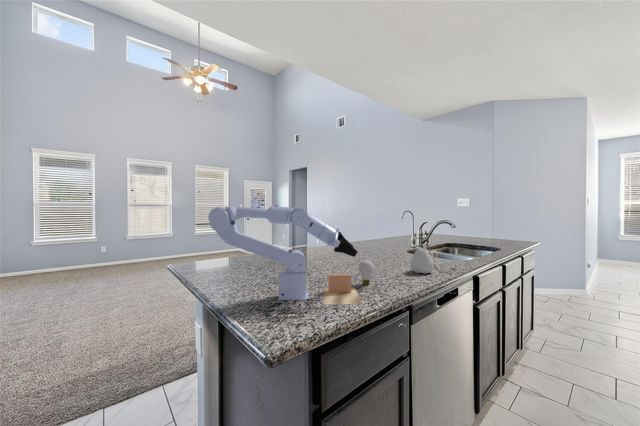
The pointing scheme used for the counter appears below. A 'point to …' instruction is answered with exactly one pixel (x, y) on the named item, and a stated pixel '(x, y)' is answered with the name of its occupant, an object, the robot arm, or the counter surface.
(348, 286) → the tile
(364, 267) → the light bulb
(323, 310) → the counter surface
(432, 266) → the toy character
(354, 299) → the mat
